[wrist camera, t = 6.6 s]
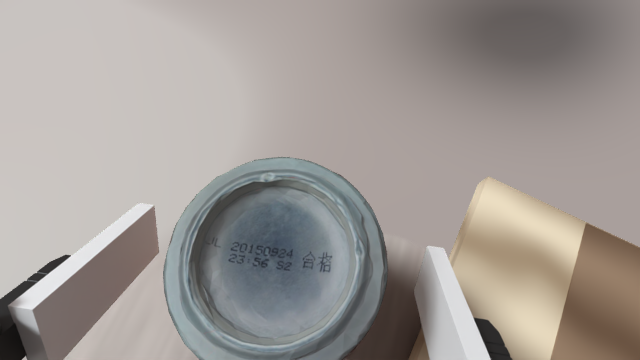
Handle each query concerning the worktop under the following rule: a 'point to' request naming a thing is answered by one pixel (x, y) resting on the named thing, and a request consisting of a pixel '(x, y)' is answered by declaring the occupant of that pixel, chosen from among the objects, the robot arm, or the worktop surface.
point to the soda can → (275, 265)
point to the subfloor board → (545, 279)
